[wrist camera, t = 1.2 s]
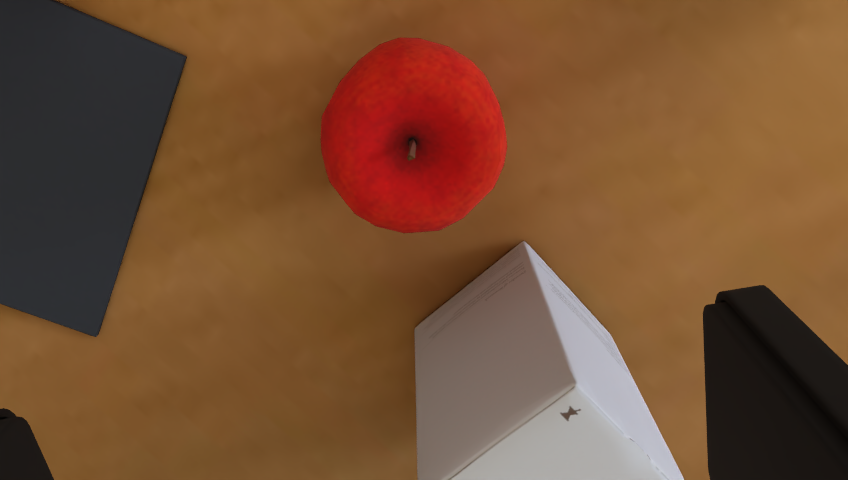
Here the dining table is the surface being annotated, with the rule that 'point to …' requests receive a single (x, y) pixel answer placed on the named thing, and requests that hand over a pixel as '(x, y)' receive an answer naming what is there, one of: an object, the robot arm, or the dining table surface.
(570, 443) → the white product box
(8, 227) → the mat
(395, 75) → the apple
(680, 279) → the dining table surface
